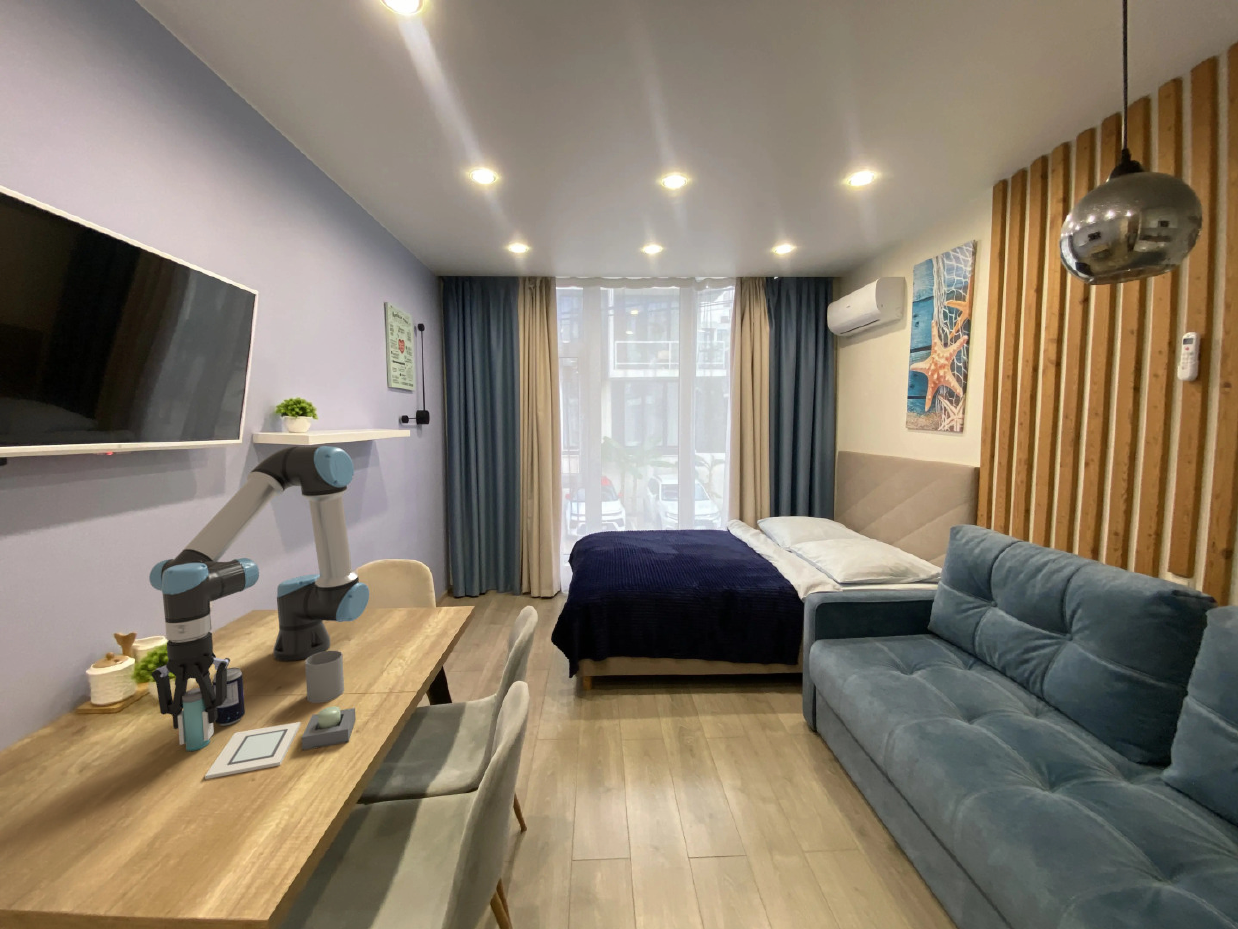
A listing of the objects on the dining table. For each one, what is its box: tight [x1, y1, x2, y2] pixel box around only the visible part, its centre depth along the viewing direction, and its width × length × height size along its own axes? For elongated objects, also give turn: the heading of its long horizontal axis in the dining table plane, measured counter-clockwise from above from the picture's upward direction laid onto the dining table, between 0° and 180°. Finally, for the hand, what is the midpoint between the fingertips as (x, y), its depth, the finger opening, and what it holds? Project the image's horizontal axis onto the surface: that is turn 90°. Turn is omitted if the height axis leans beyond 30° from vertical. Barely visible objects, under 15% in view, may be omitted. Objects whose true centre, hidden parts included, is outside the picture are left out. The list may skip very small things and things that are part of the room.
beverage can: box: [211, 667, 246, 727], centre depth 120 cm, size 6×6×12 cm
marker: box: [182, 687, 211, 752], centre depth 111 cm, size 4×4×12 cm
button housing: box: [301, 707, 356, 751], centre depth 115 cm, size 9×9×3 cm
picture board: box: [204, 721, 302, 780], centre depth 110 cm, size 15×13×1 cm
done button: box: [317, 706, 341, 729], centre depth 115 cm, size 4×4×3 cm
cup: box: [304, 650, 345, 704], centre depth 132 cm, size 8×8×10 cm
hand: (197, 738), depth 111 cm, fingers closed on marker, 4 cm apart
